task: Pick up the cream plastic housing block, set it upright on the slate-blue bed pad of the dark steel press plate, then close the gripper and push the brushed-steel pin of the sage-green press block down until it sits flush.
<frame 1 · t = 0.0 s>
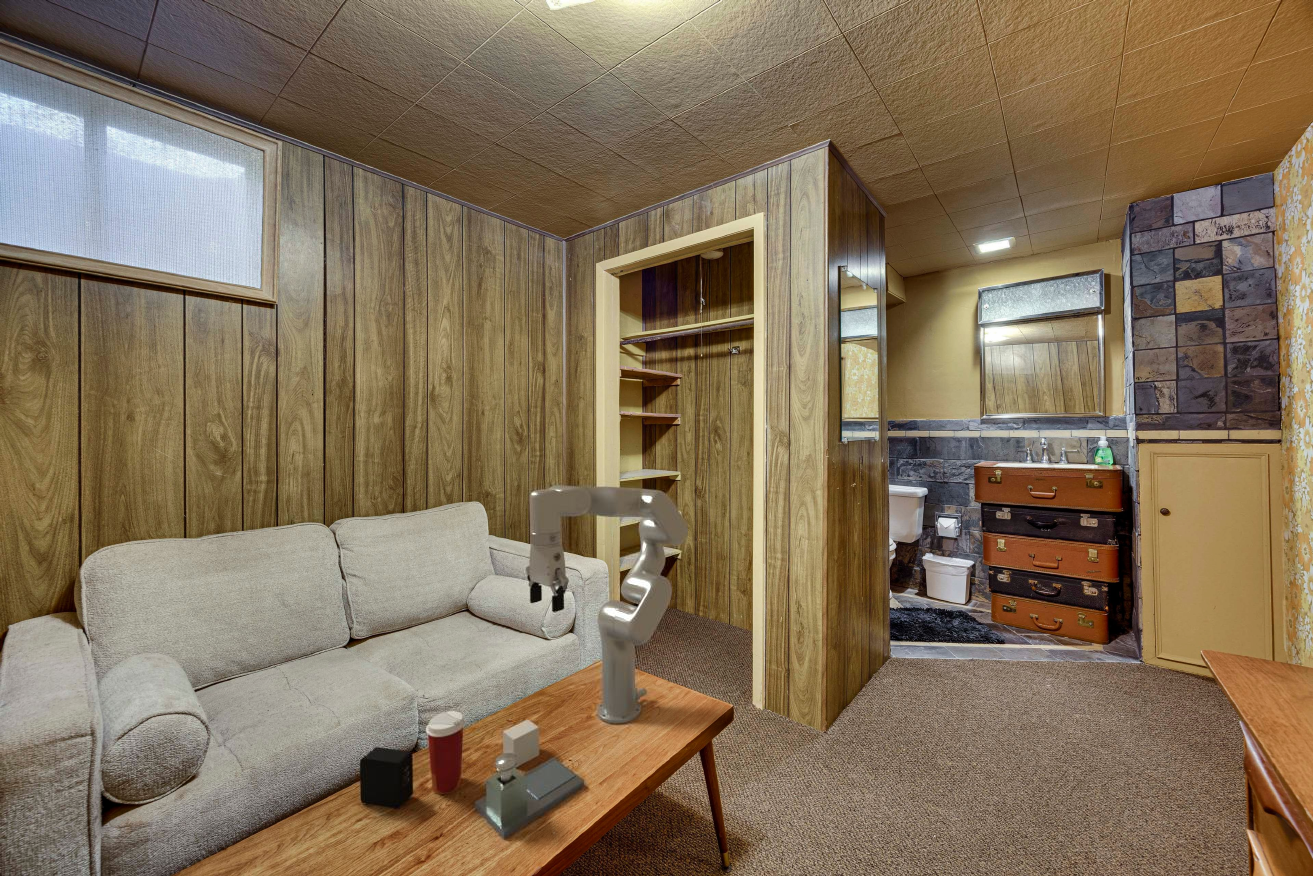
hand: (546, 606, 126), 37 cm above the table, tool pointing down, fingers open, 9 cm apart
electronic device: (387, 800, 110), on the table
coffee cup: (446, 785, 115), on the table
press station: (531, 797, 110), on the table
housing: (521, 757, 124), on the table
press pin: (506, 773, 105), point 9 cm above the table, slide at 0.0 cm
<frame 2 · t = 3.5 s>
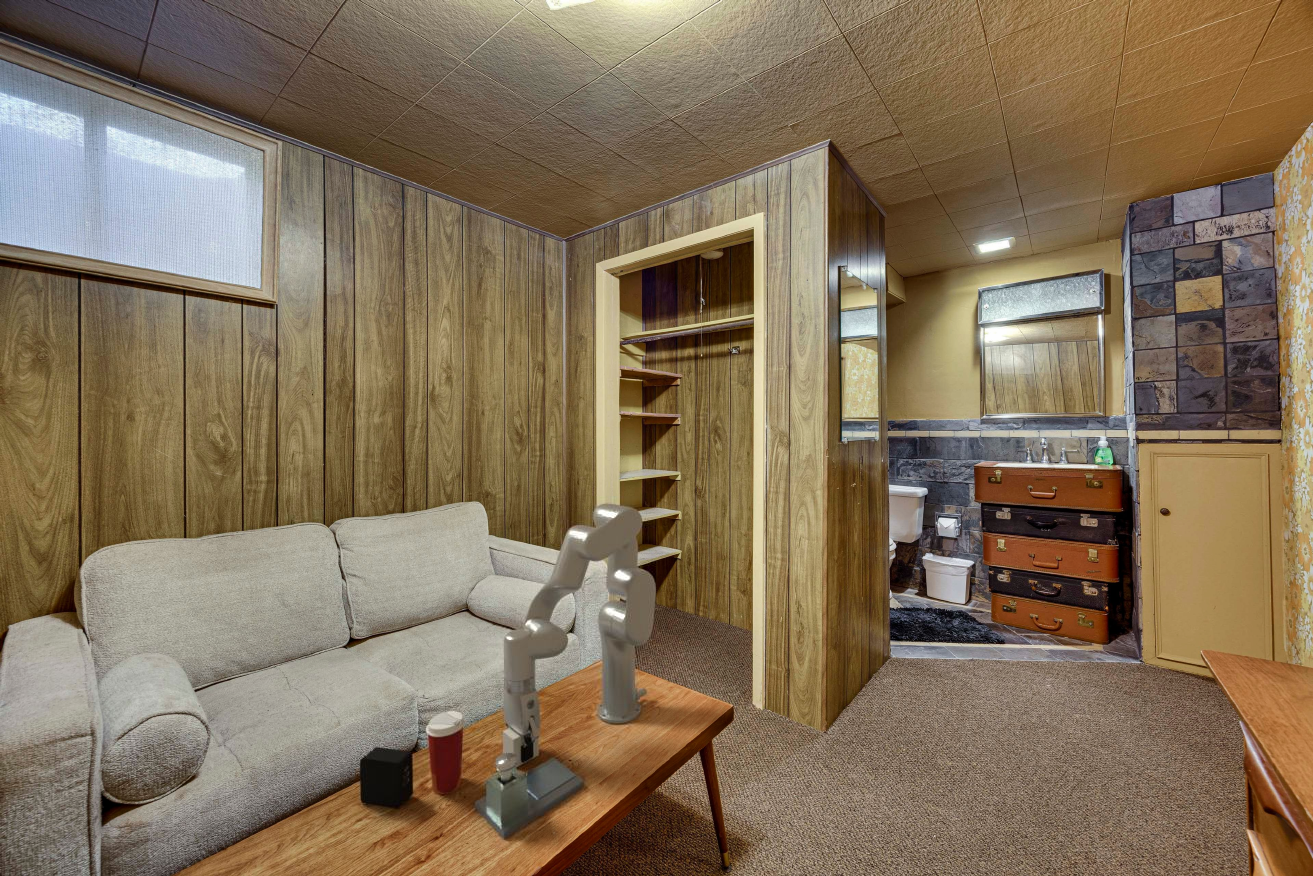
hand: (520, 753, 124), 1 cm above the table, tool pointing down, fingers closed on housing, 5 cm apart
housing: (521, 757, 124), on the table, touching gripper
everything else where it was.
when the fingers open (4 cm above the table, at t = 9.2 s): housing drops 1 cm, resting on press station.
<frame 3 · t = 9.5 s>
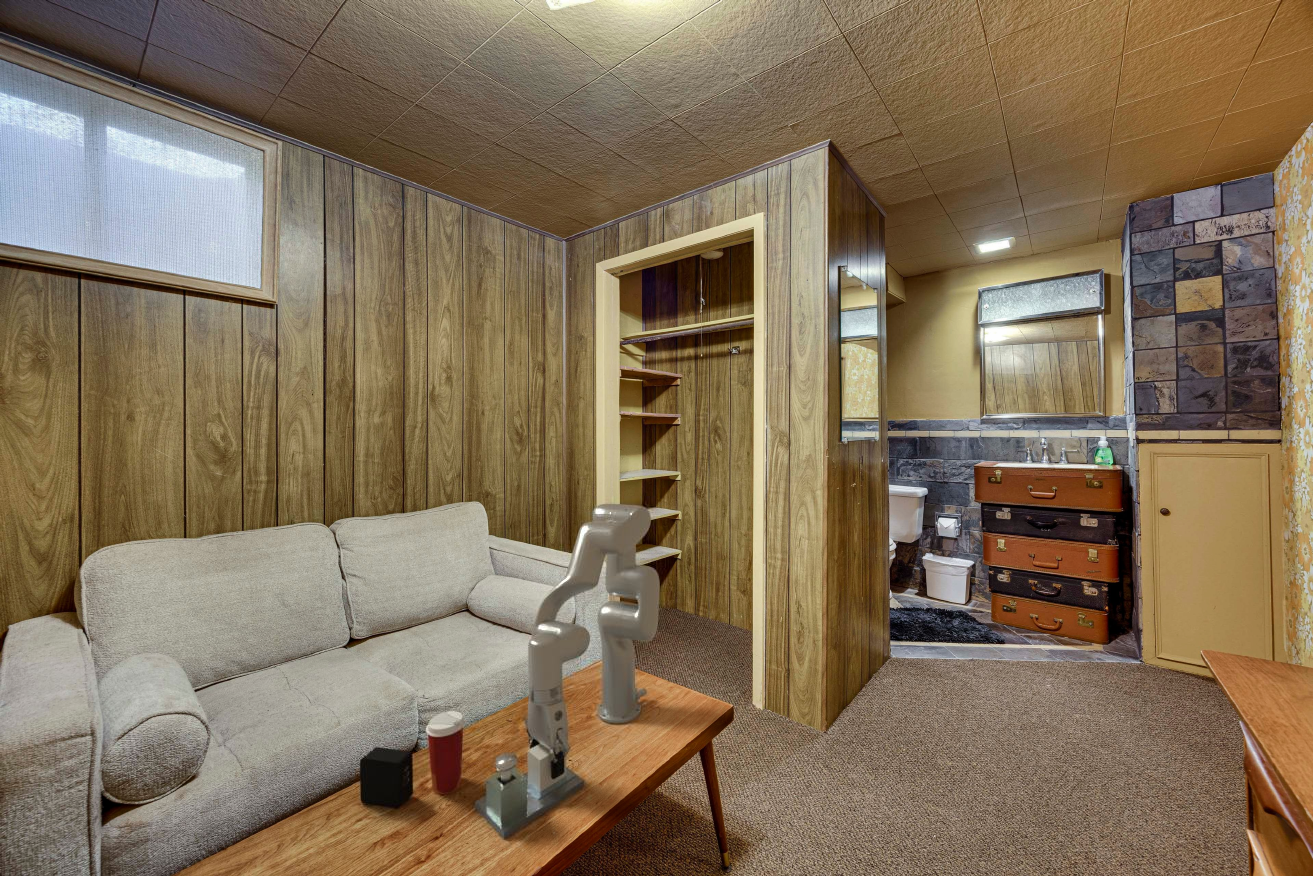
hand: (547, 767, 114), 4 cm above the table, tool pointing down, fingers open, 7 cm apart
housing: (547, 778, 114), point 2 cm above the table, touching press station
everything else where it was.
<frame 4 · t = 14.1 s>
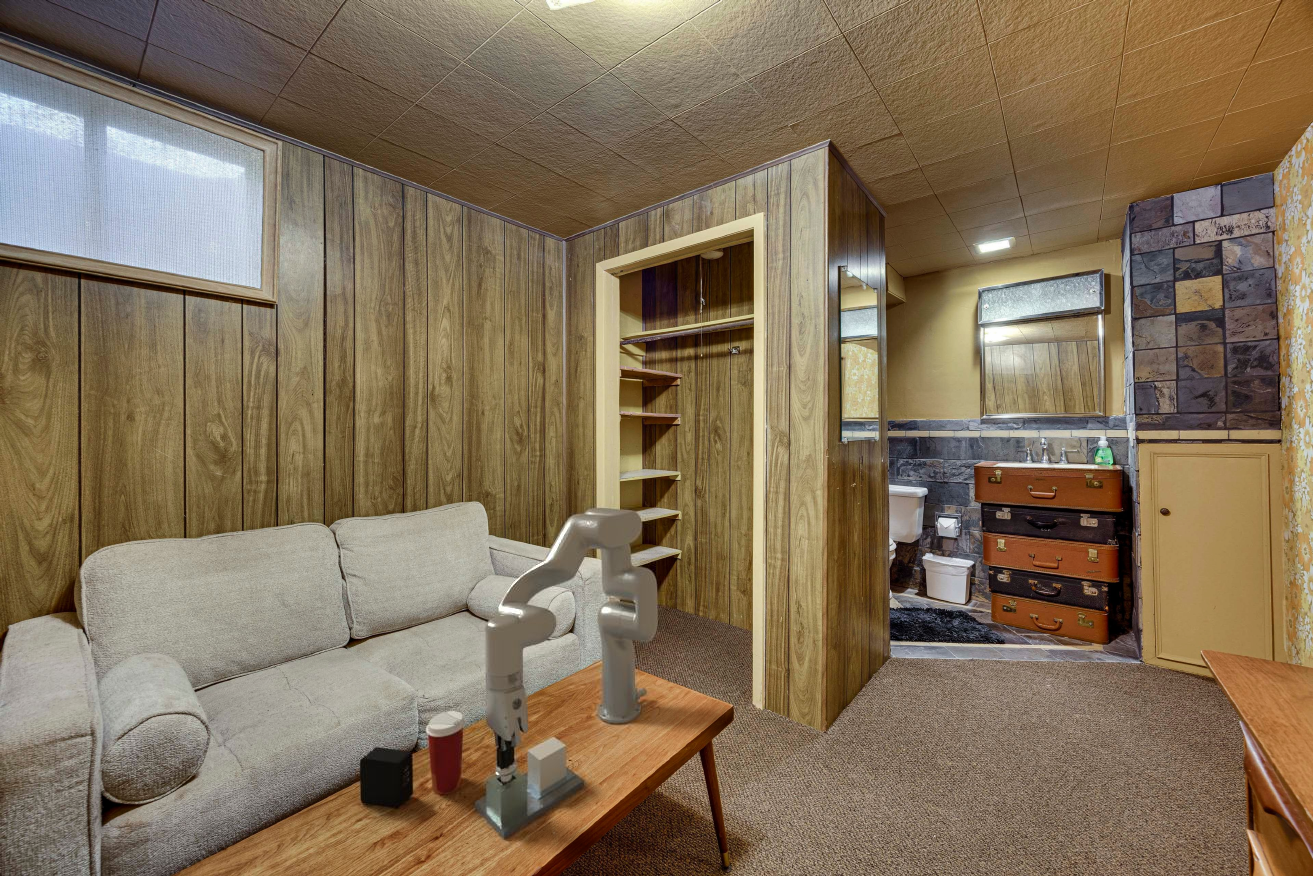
hand: (505, 764, 105), 11 cm above the table, tool pointing down, fingers closed
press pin: (506, 778, 105), point 8 cm above the table, slide at 1.0 cm, touching gripper
everything else where it was.
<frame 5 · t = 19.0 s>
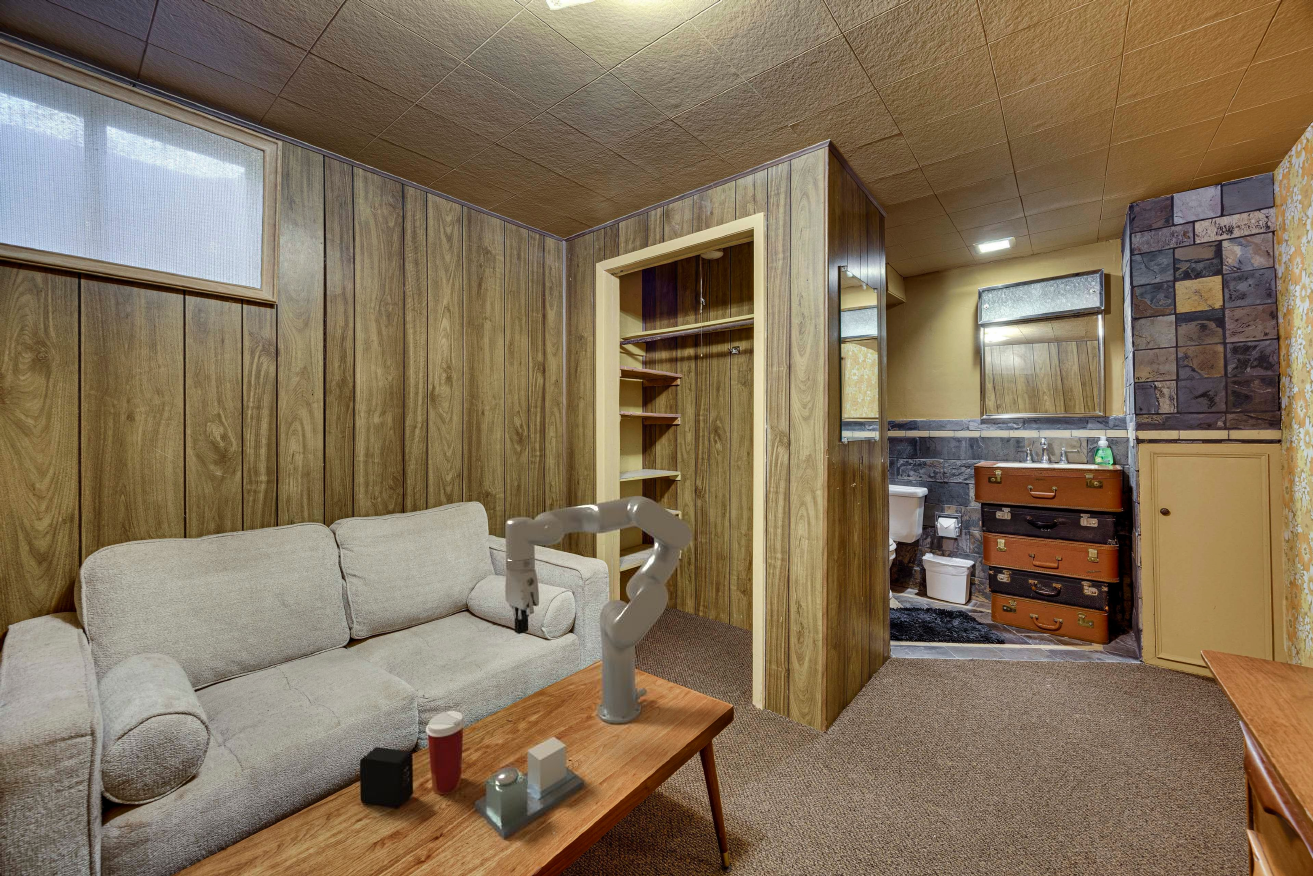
hand: (521, 631, 135), 27 cm above the table, tool pointing down, fingers closed
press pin: (506, 787, 105), point 6 cm above the table, slide at 3.0 cm
everything else where it was.
at the end: housing 0.0 cm from the target spot on the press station, point 1.7 cm above the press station's base; housing tilted 0°; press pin slide at 3.0 cm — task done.
